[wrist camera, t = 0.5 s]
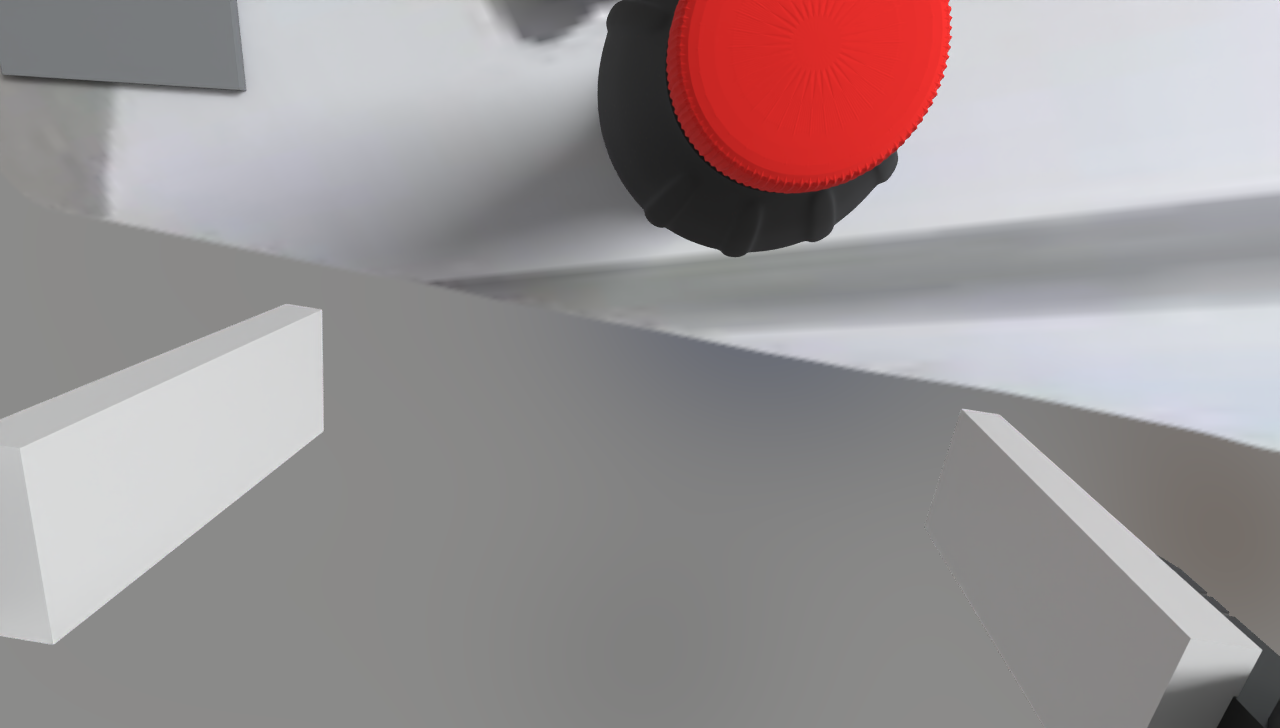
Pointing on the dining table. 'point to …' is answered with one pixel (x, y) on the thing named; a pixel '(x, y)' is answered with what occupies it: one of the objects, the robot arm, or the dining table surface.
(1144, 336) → the dining table surface
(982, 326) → the dining table surface
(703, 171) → the cola bottle
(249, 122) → the dining table surface
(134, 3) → the grey mat
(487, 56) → the dining table surface
